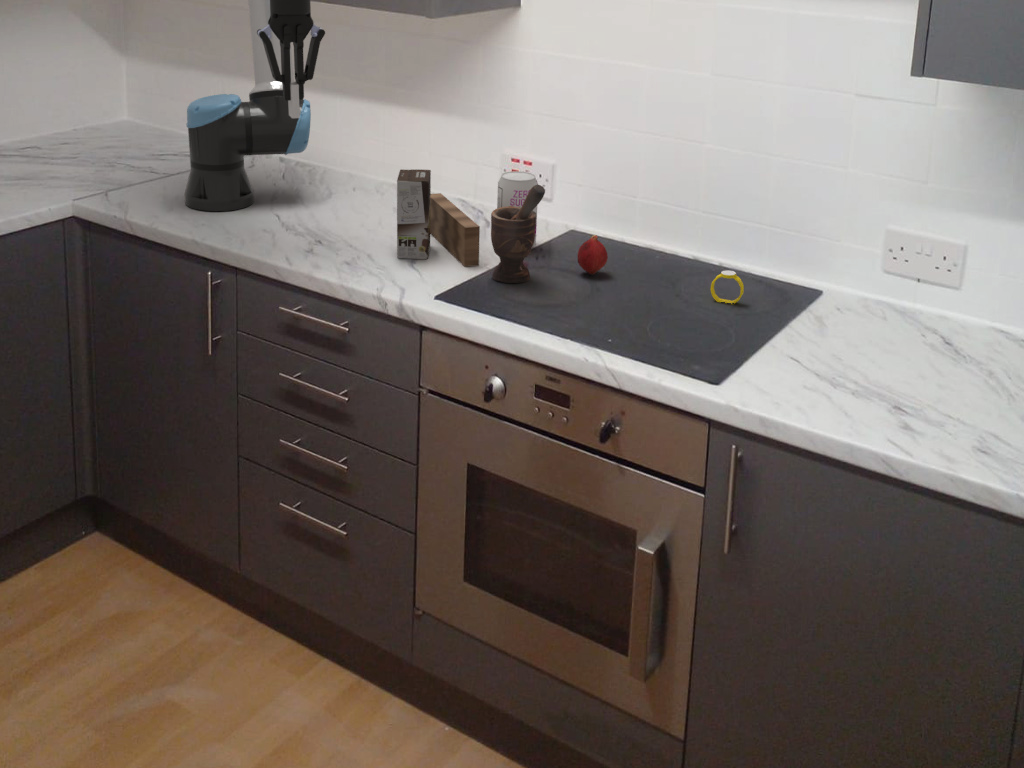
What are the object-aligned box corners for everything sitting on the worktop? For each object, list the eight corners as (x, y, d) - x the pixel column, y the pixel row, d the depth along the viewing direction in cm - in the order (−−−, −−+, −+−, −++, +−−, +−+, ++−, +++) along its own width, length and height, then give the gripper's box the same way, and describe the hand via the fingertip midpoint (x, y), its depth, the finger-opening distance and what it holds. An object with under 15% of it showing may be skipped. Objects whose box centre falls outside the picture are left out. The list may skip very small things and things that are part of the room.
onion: (584, 280, 237) (587, 241, 233) (571, 271, 241) (573, 232, 238) (611, 277, 239) (613, 238, 236) (597, 268, 244) (600, 229, 240)
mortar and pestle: (555, 279, 237) (560, 178, 228) (534, 292, 230) (539, 189, 222) (502, 268, 242) (506, 169, 233) (481, 280, 235) (483, 179, 226)
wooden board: (427, 230, 262) (427, 194, 258) (440, 229, 263) (440, 193, 259) (464, 266, 242) (465, 227, 238) (478, 265, 243) (479, 226, 239)
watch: (709, 303, 229) (709, 273, 226) (712, 298, 231) (713, 268, 229) (740, 306, 227) (742, 276, 224) (743, 301, 229) (745, 271, 227)
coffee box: (428, 259, 245) (429, 181, 238) (396, 258, 245) (395, 180, 238) (431, 245, 253) (431, 168, 246) (400, 244, 253) (399, 167, 246)
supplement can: (515, 237, 259) (518, 168, 253) (543, 247, 254) (546, 176, 248) (487, 245, 254) (489, 174, 248) (515, 255, 249) (518, 183, 243)
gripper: (259, -5, 223) (265, 123, 234) (329, -6, 228) (331, 119, 239) (250, -12, 229) (256, 113, 240) (318, -13, 234) (321, 109, 245)
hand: (294, 116), depth 239 cm, fingers closed
